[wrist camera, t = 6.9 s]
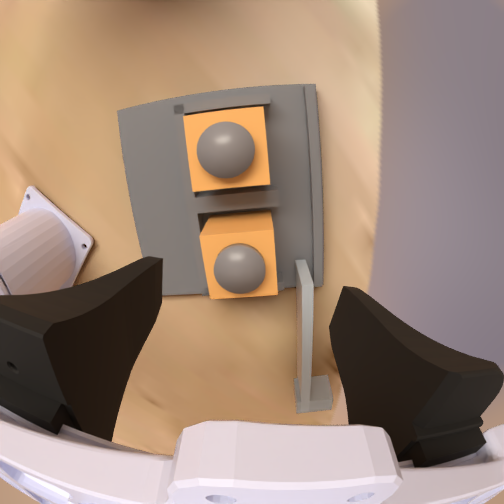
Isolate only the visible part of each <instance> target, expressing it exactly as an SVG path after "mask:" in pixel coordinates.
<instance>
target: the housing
mask: <svg viewBox="0 0 504 504" xmlns="http://www.w3.org/2000/svg"><path fill="white" fill-rule="evenodd" d="M251 107H263V108H264V118H265V129H266V140H267V152H268V163H269V175H270V184H269V185H257V186H245V187H234V188H224V189H215V190H205V191H197V192H193V191H192V184H191V176H190V169H189V161H188V153H187V145H186V137H185V128H184V120H183V116H187V115H194V114H200V113H207V112H215V111H222V110H231V109H240V108H251ZM117 113H118V122H119V131H120V139H121V146H122V153H123V160H124V166H125V173H126V179H127V184H128V190H129V196H130V201H131V206H132V211H133V216H134V221H135V226H136V230H137V235H138V239H139V244H140V248H141V252H142V256H143V258H144V257H147V256H152V257H158V258H163V279H162V295H182V294H202V296H205V295H209V289H208V284H207V278H206V273H205V267H204V261H203V255H202V249H201V243H200V237H199V236H200V234H201V232H202V230H203V228H204V226H205V224H206V222H207V220H208V218H209V216H210V215H217V214H228V213H239V212H251V211H263V210H271V216H272V222H273V229H274V242H275V257H276V272H277V288H278V291H280V290H284V288H289V287H296V267H295V260H303V259H305V260H306V263H307V266H308V269H309V272H310V275H311V278H312V281H313V284H314V287H321V286H322V285H323V269H324V229H323V187H322V164H321V146H320V131H319V117H318V105H317V94H316V84H293V85H272V86H258V87H246V88H236V89H228V90H219V91H212V92H205V93H199V94H192V95H186V96H181V97H175V98H170V99H165V100H160V101H156V102H151V103H147V104H142V105H138V106H134V107H130V108H126V109H122V110H118V111H117Z"/></svg>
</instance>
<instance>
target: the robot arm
mask: <svg viewBox="0 0 504 504" xmlns="http://www.w3.org/2000/svg"><path fill="white" fill-rule="evenodd" d="M29 195H30V198H29ZM84 244H85V245H86V246H87V248H86V247H85V246H84ZM92 245H93V238H92V237H91V236H90V235H89V234H88V233H87V232H85V231H84V230H83V229H82V228H81V227H79V226H78V225H77V224H76V223H75V222H74V221H72V220H71V219H70V218H69V217H68V216H67V215H65V214H64V213H63V212H62V211H61V210H60V209H59V208H57V207H56V206H55V205H54V204H53V203H52V202H51V201H50V200H48V199H47V198H46V197H45V196H44V195H43V194H42V193H41V192H40V191H39V190H37V189H36V188H35V187H34V186H29V187H28V188H27V190H26V193H25V196H24V198H23V201H22V204H21V207H20V211H19V214H18V215H17V216H15V217H13V218H11V219H9V220H7V221H6V222H4V223H2V224H0V478H2V479H3V480H5V481H6V482H7V483H9V484H10V485H12V486H13V487H15V488H17V489H18V490H19V491H21V492H23V493H24V494H26V495H27V496H29V497H31V498H32V499H34V500H36V501H37V502H39V503H41V504H484V503H486V502H487V501H489V500H490V499H491V498H493V497H494V496H496V495H497V494H498V493H500V492H501V491H502V490H504V424H501V425H498V426H495V427H493V428H490V429H488V430H486V431H485V432H483V433H482V432H481V430H480V428H479V427H481V426H482V424H483V420H482V418H481V417H480V416H481V414H482V413H483V412H484V411H485V410H486V409H487V407H488V406H489V405H490V404H491V402H492V401H493V400H494V399H495V397H496V396H497V394H498V393H499V391H500V389H501V387H502V385H503V381H504V375H503V373H502V371H501V370H500V368H499V367H498V366H497V364H496V363H494V362H491V361H487V360H484V359H480V358H476V357H472V356H469V355H467V354H464V353H461V352H459V351H456V350H454V349H451V348H449V347H447V346H444V345H442V344H440V343H438V342H436V341H434V340H432V339H430V338H428V337H427V336H425V335H423V334H421V333H420V332H418V331H417V330H415V329H413V328H412V327H410V326H409V325H407V324H406V323H404V322H403V321H402V320H400V319H399V318H397V317H396V316H395V315H393V314H392V313H391V312H389V311H388V310H387V309H386V308H384V307H383V306H382V305H380V304H379V303H378V302H377V301H375V300H374V299H373V298H371V297H370V296H369V295H367V294H366V293H365V292H363V291H362V290H360V289H358V288H355V287H347V286H343V289H342V291H341V294H340V297H339V300H338V303H337V306H336V309H335V312H334V315H333V317H332V320H331V323H330V326H329V330H330V338H331V345H332V350H333V353H334V357H335V360H336V364H337V367H338V371H339V374H340V378H341V381H342V385H343V388H344V393H345V397H346V404H347V411H348V422H349V425H298V424H278V423H265V422H253V421H244V420H208V421H205V422H202V423H199V424H195V425H192V426H189V427H186V428H184V429H183V431H182V433H181V434H180V436H179V438H178V439H177V443H176V447H175V452H174V455H160V454H153V453H149V452H145V451H141V450H137V449H134V448H130V447H127V446H123V445H120V444H117V443H113V442H112V437H113V432H114V428H115V424H116V420H117V416H118V412H119V408H120V405H121V401H122V398H123V394H124V391H125V388H126V385H127V382H128V379H129V376H130V373H131V370H132V368H133V366H134V363H135V361H136V359H137V357H138V355H139V353H140V351H141V349H142V347H143V345H144V343H145V341H146V339H147V337H148V335H149V333H150V332H151V330H152V328H153V326H154V324H155V322H156V319H157V316H158V313H159V310H160V307H161V304H162V279H163V258H158V257H152V256H147V257H144V258H142V259H139V260H137V261H135V262H133V263H131V264H129V265H127V266H125V267H123V268H120V269H118V270H116V271H114V272H112V273H109V274H107V275H104V276H102V277H100V278H97V279H95V280H92V281H89V282H86V283H83V284H80V285H77V286H73V284H74V282H75V280H76V278H77V275H78V273H79V271H80V269H81V267H82V265H83V263H84V261H85V259H86V257H87V255H88V253H89V251H90V249H91V247H92ZM72 286H73V287H72Z"/></svg>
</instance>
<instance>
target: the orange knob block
mask: <svg viewBox="0 0 504 504" xmlns="http://www.w3.org/2000/svg"><path fill="white" fill-rule="evenodd" d="M183 120H184V128H185V137H186V145H187V153H188V161H189V169H190V176H191V184H192V191H193V192H197V191H205V190H215V189H224V188H234V187H245V186H257V185H269V184H270V175H269V163H268V152H267V140H266V129H265V118H264V108H263V107H251V108H240V109H231V110H222V111H215V112H207V113H200V114H194V115H187V116H183Z"/></svg>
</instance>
